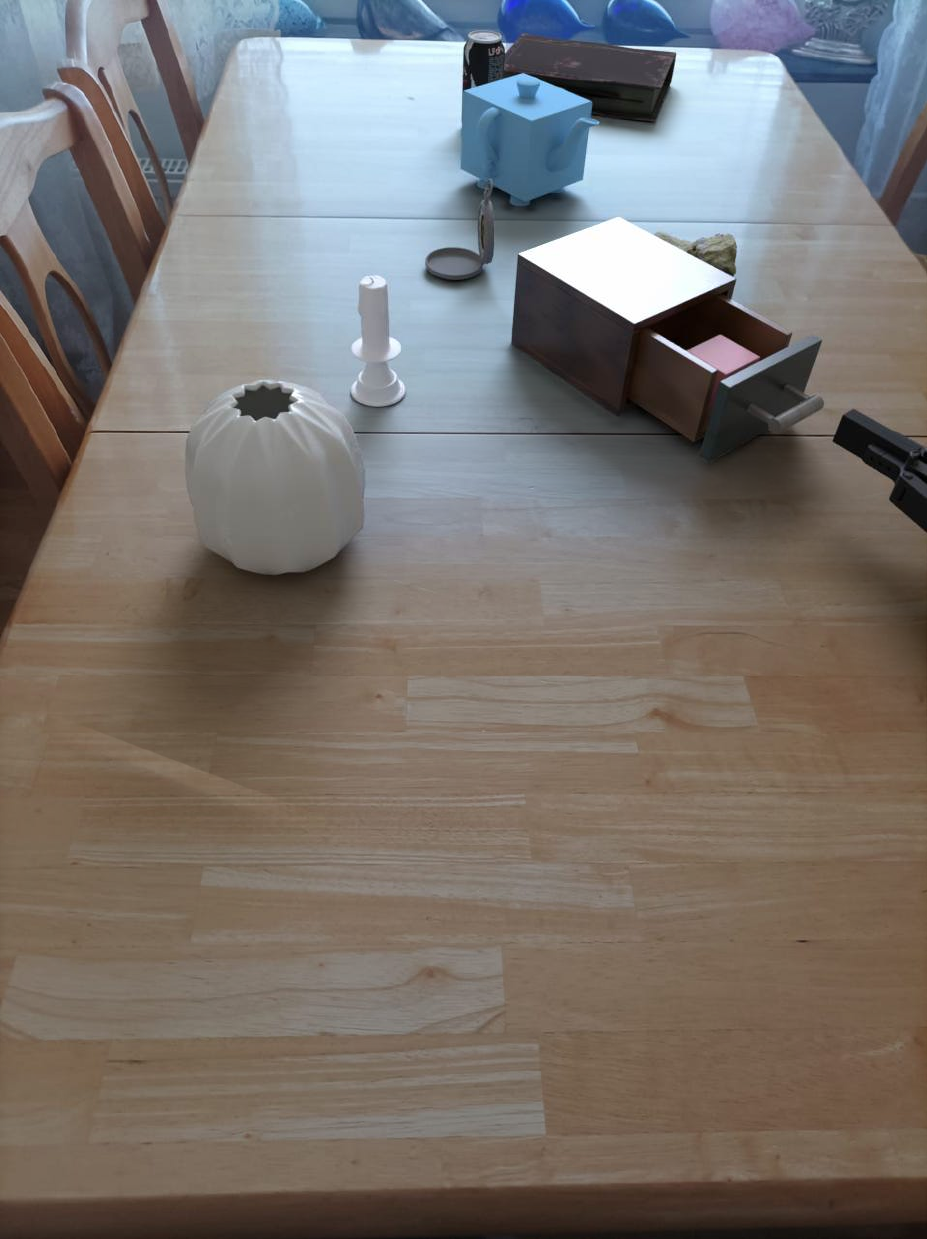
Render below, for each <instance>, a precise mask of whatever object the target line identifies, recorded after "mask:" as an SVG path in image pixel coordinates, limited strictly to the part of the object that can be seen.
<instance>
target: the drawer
mask: <svg viewBox="0 0 927 1239" xmlns="http://www.w3.org/2000/svg"><path fill="white" fill-rule="evenodd" d="M718 335H722V336H724V337H726V338H728V339H729V340H731V341H733V342H735V343H736V344H738V345H740V346H742V347H743V348H745V349H747V350H749V351H751V352H752V353H754V354H756V355H758V356H759V357H760V360H759V362H757V363H755V364H753V365H751V366H749V367H747V368H745V369H744V370H742V371H740V372H738V373H736V374H734V375H732V376H730V377H728V378H726V379H724V380H722V381H720V382H719V386H718V390H717V393H716V397H715V401H714V404H713V408H712V412H711V415H710V416H708V415H707V410H708V406H709V402H710V399H711V395H712V391H713V388H714V384H715V380H716V376H717V373H718V370H717V369H715V368H714V367H712V366H710V365H709V364H707V363H705V362H704V361H702V360H700V359H699V358H697V357H695V356H694V355H692V354H690V353H689V352H687V350H689V349H691V348H693V347H695V346H697V345H699V344H701V343H703V342H706V341H708V340H710V339H712V338H714V337H716V336H718ZM792 336H793V332H792V331H790V330H789V329H787V328H785V327H783V326H781V325H780V324H777V323H776V322H774V321H772V320H770V319H768V318H767V317H765V316H763V315H761V314H760V313H757V312H756V311H753V310H752V309H750V308H748V307H747V306H745V305H743V304H741V303H739V302H737V301H736V300H733V298H732V299H730V298H728V297H726V296H724V295H723V294H719V295H716V296H714V297H712V298H710V299H708V300H705V301H703V302H701V303H699V304H696V305H694V306H692V307H690V308H687V309H685V310H683V311H681V312H679V313H676V314H674V315H672V316H670V317H667V318H665V319H663V320H661V321H658V322H656V323H654V324H652V325H650V326H647V327H645V328H643V329H641V330H640V331H639V336H638V342H637V347H636V352H635V358H634V363H633V368H632V374H631V379H630V384H629V389H628V395H627V398H628V399H630V400H631V401H633V402H634V403H636V404H637V405H639V406H638V407H640V408H642V409H643V410H645V411H646V412H648V413H649V414H651V415H653V416H654V417H656V418H657V419H658V420H660V421H661V422H663V423H664V424H666V425H668V426H669V427H671V428H672V429H673V430H675V431H677V432H678V433H679V434H681V435H682V436H685V437H686V438H687V439H688V440H690V441H692V442H693V443H696V442H697V441H699V440H701V439H702V438H703V442H702V445H701V449H700V451H699V457H700V458H701V459H703V460H704V461H706V462H707V463H711V462H713V461H715V460H717V459H718V458H720V457H722V456H724V455H725V454H727V453H728V452H731V451H733V450H734V449H736V448H737V447H740V446H741V445H743V444H745V443H747V442H748V441H750V440H752V439H753V438H756V437H757V436H759V435H761V434H762V433H764V432H766V431H768V430H769V431H770V433H772V434H774V435H779V434H780V433H782V432H784V431H787V430H788V429H789V428H792V427H793V426H795V425H797V424H798V423H801V422H802V421H803V420H805V419H807V418H809V417H811V416H813V415H814V414H816V413H818V412H819V411H821V410H823V408H824V407H825V401H824V399H823V397H822V396H821V395H818V394H814V395H812V396H810V395H809V394H806V393H805V391H806V389H807V385H808V383H809V380H810V378H811V375H812V371H813V369H814V365H815V363H816V360H817V357H818V354H819V351H820V348H821V346H822V343H823V339H822V338H819V337H817V336H816V335H814V334H810V335H808V336H806V337H804V338H802V339H800V340H799V341H796V342H795V343H792V344H791V345H790V343H791V340H792Z"/></svg>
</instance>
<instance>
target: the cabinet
mask: <svg viewBox="0 0 927 1239" xmlns="http://www.w3.org/2000/svg"><path fill="white" fill-rule="evenodd" d="M516 262H517V263H516V271H515V272H516V274H515V284H514V285H515V286H514V296H513V312H512V325H511V339H510V340H511V341H510V343H511V344H512V346H514V347H515V348H517V349H519V350H520V351H521V352H523V353H525V354H526V355H527V356H529V357H531V358H532V359H533V360H535V361H536V362H538V363H539V364H540V365H542V366H543V367H545V368H546V369H548V370H549V371H551V372H552V373H554V374H555V375H557V376H558V377H559V378H561V379H563V380H564V381H566V382H567V383H569V384H570V385H571V386H573V387H574V388H576V389H577V390H579V391H581V392H582V393H583V394H585V395H586V396H588V397H589V398H591V399H592V400H593V401H595V402H596V403H598V404H599V405H601V406H602V407H604V408H605V409H607V410H608V411H610V412H611V413H612V414H614V415H615V416H617V417H618V416H621V415H623V414H625V413H627V412H628V411H631V410H634V409H635V408H637V407H640V406H639V405H637V404H636V403H634V402H633V401H631V400H630V399H628V398H627V395H628V389H629V384H630V379H631V374H632V368H633V363H634V358H635V352H636V347H637V342H638V336H639V331H640V330H641V329H643V328H645V327H647V326H650V325H652V324H654V323H656V322H658V321H661V320H663V319H665V318H667V317H670V316H672V315H674V314H676V313H679V312H681V311H683V310H685V309H687V308H690V307H692V306H694V305H696V304H699V303H701V302H703V301H705V300H708V299H710V298H712V297H714V296H716V295H719V294H723V295H724V296H726V297H728V298H730V299H732V300H733V295H734V291H735V286H736V283H737V278H736V277H735V276H734V277H732V276H730V275H728V274H726V273H724V272H723V271H721V270H719V269H717V268H715V267H713V266H711V265H709V264H707V263H706V262H704V261H702V260H700V259H698V258H696V257H694V256H692V255H690V254H688V253H687V252H685V251H683V250H681V249H679V248H677V247H675V246H673V245H671V244H669V243H668V242H666V241H664V240H662V239H660V238H658V237H656V236H654V234H652V233H651V232H648V231H647V230H645V229H643V228H641V227H640V226H638V225H635V224H633V223H632V222H629V221H628V220H626V219H624V218H622V217H620V216H617V217H614V218H611V219H608V220H606V221H603V222H601V223H598V224H595V225H591V226H590V227H587V228H584V229H581V230H579V231H576V232H573V233H571V234H570V233H569V234H567V235H565V236H562V237H560V238H557V239H554V240H551V241H549V242H545V243H543V244H541V245H538V246H535V247H532V248H529V249H527V250H524V251H522V252H519V253H517V258H516Z"/></svg>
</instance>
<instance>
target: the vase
mask: <svg viewBox="0 0 927 1239" xmlns="http://www.w3.org/2000/svg"><path fill="white" fill-rule="evenodd" d="M187 435H188V436H187V437H186V440H185V449H184V470H185V471H184V473H185V474H184V475H185V482H186V491H187V494H188V498H189V503H190V506H191V507H192V509H193V510H192V511H193V519H194V520H193V521H194V525H195V528H196V533H197V535H198V539H199V540H200V542H201V543H202V545H203V546H204V547H205V548H207V549H209V550H210V551H211V552H214V553H215V554H216V555H218V556H219V557H222V558H223V559H225V560H227V561H229V562H231V563H232V564H233V565H234V566H235V567H236V568H237V569H240V570H244V571H248V572H252V573H256V574H261V575H270V576H277V575H281V574H285V573H286V574H287V573H305V572H308V571H312V570H313V569H316V568H317V567H319V566H321V565H323V564H325V563H326V562H328V561H330V560H332V559H334V558H335V557H336V556H337V555H338V553H339V552H340V551H341V550H343V549H344V548H345V547H346V546H347V545H348V544H349V543H350V542H351V541H352V540H353V539H354V538H355V537H356V535H358V534H359V533H360V531H361V530H362V529H363V528H364V522H365V517H366V516H365V502H364V498H365V489H366V485H367V484H366V483H367V482H366V470H365V464H364V461H363V457H362V452H361V448H360V446H359V443H358V439H357V436H356V434H355V432H354V430H353V427H352V425H351V424H350V422H349V421H348V419H347V418H346V417H345V414H344V413H343V412H342V411H340V410H338V409H337V408H335V407H334V406H332V405H330V403H329V401H328V399H327V398H326V396H325V395H324V394H323V393H322V392H319V391H317V390H315V389H312V388H310V387H306V386H304V385H301V384H297V383H293V382H288V381H286V380H275V379H269V378H267V379H258V380H253V381H251V382H249V383H241V384H239V385H237V386H235V387H232V388H230V389H227V390H226V391H224V392H223V393H221V394H220V395H217V396H216V397H215V398H214V399H212V400H211V401H209V402H208V404H206V406H205V408H204V412H203V414H202V415H201V416H200V417H199V418H198V419H196V421H195V422H194V423H193V424H192V425H191V426H190V430H189V433H188V434H187Z"/></svg>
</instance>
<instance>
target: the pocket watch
mask: <svg viewBox="0 0 927 1239" xmlns="http://www.w3.org/2000/svg"><path fill="white" fill-rule="evenodd" d="M490 181H491V189H489V188H488V184H489V182H490ZM492 188H493V182H492V179H489V180H488V181H487V184H486V189H484V192H483V197H484V199H482V200H481V202H480V203H479V207H478V213H477V247H478V252H476V251H474V250H472V249H469V248H466V247H465V248H464V247H459V246H449V247H448V246H447V247H441V248H437V249H435V250H432V251H431V252H429V253H428V254H427V255H426V257H425V260H424V261H425V263H424V264H425V267H426V270H427V271H428V273H430V274H432V275H433V276H435V277H437V278H440V279H443V280H444V279H445V280H452V281H460V280H467V279H470V278H473V277H476V276H477V275H479V274H480V273H481V272H482V270H483V268H484V266H485V265H488V264H491V263H492V262H493V259H494V254H495V239H496V238H495V236H496V230H495V229H496V228H495V214H494V207H493V204H492V202H491V200H490V198H491V195H492V193H493V189H494V188H493V189H492Z"/></svg>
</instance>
